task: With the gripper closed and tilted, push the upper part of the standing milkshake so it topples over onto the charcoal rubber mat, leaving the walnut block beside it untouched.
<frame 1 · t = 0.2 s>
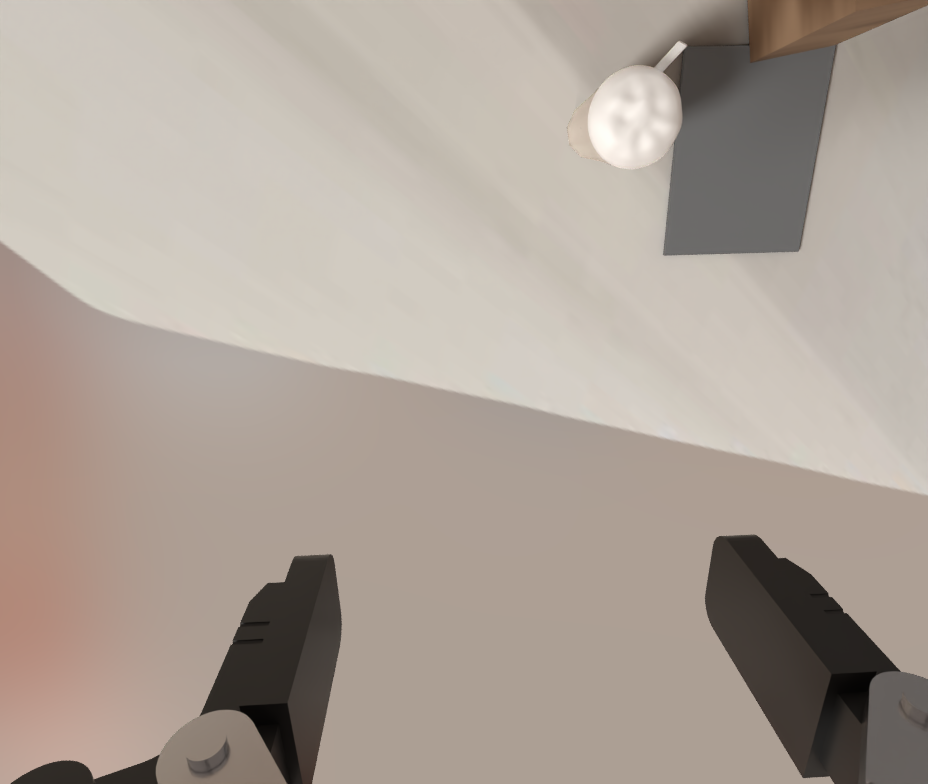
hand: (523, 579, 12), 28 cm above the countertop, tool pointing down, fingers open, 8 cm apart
milkshake: (594, 124, 35), on the countertop
mat: (743, 155, 36), on the countertop
walnut block: (790, 6, 33), on the countertop, touching mat
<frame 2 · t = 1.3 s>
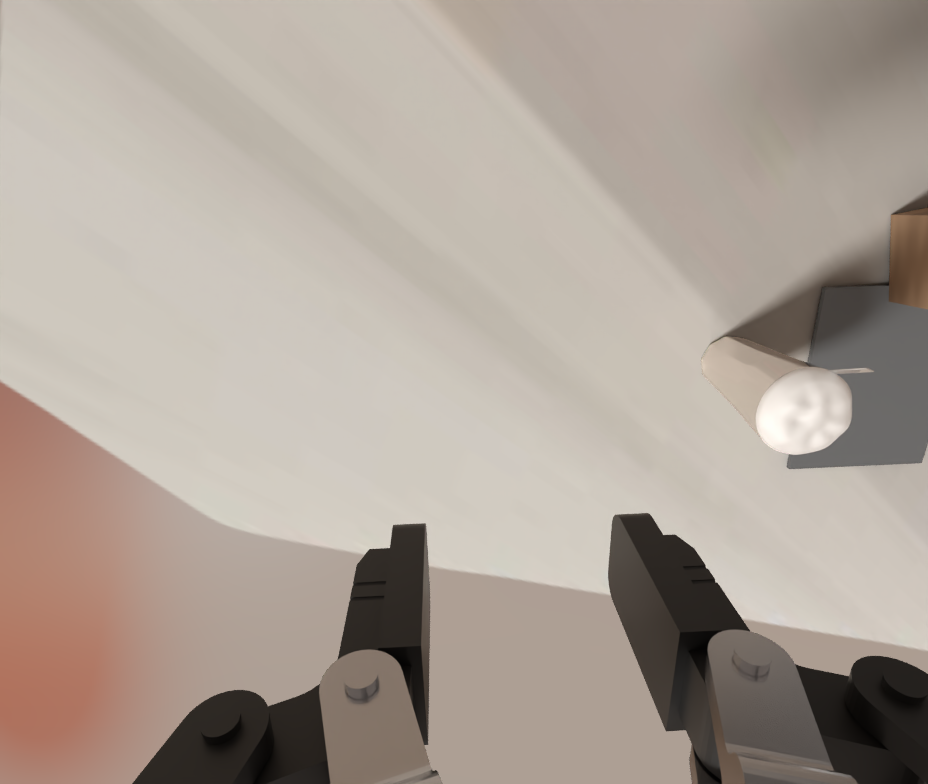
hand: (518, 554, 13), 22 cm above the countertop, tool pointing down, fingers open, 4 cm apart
milkshake: (728, 354, 35), on the countertop
mat: (873, 379, 36), on the countertop
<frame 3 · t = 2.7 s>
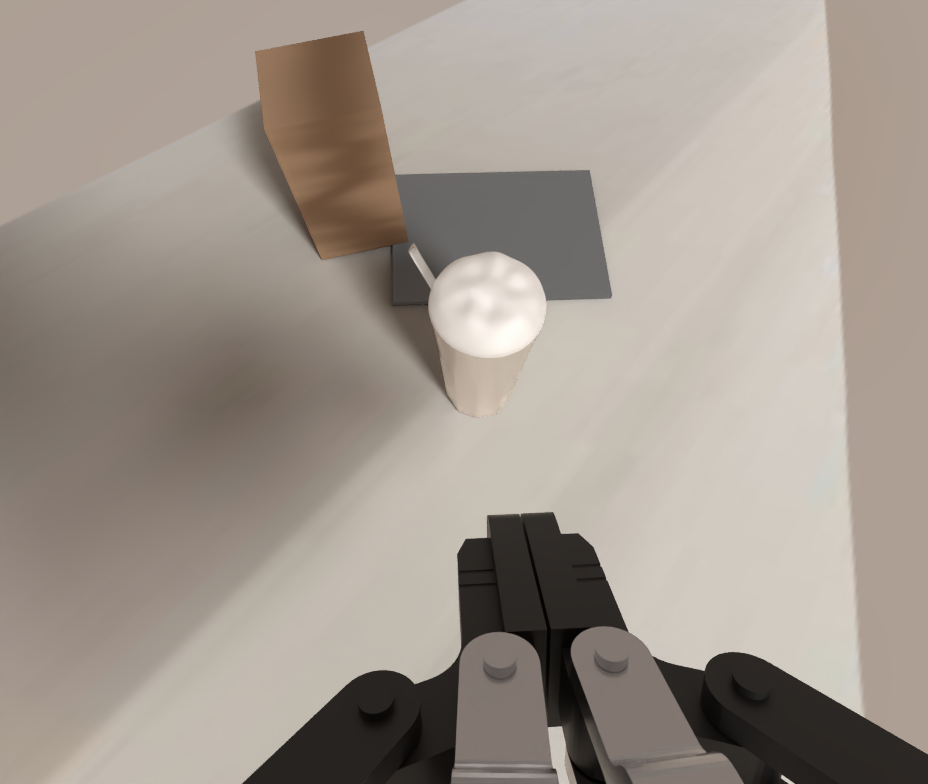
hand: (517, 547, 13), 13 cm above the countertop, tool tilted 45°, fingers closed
milkshake: (471, 387, 30), on the countertop
mat: (496, 235, 33), on the countertop
walnut block: (359, 216, 33), on the countertop, touching mat
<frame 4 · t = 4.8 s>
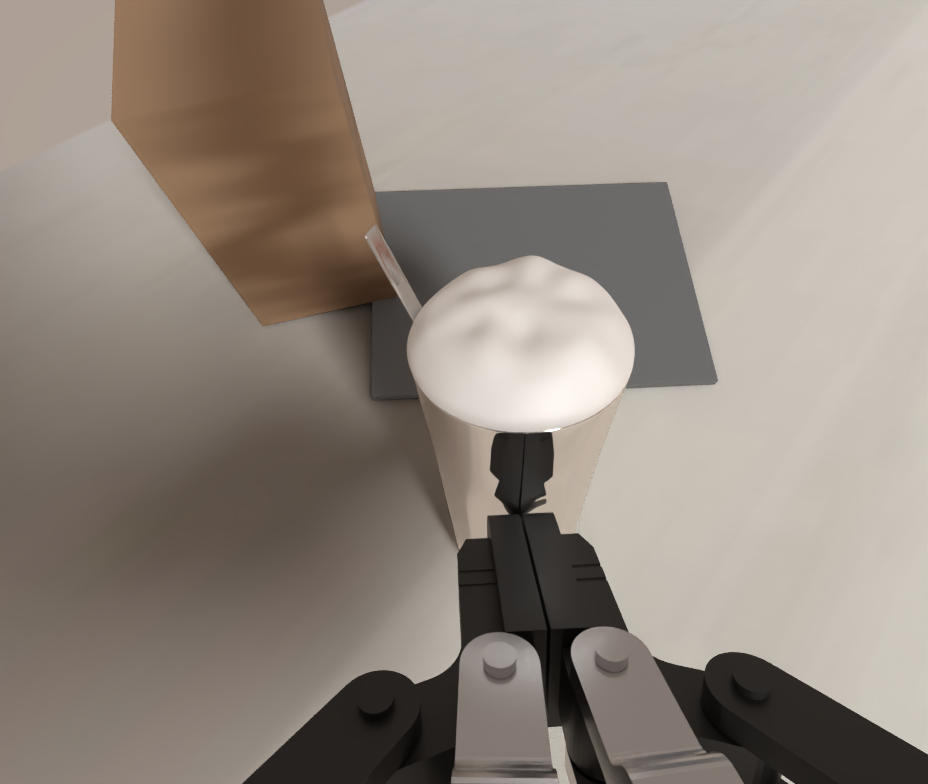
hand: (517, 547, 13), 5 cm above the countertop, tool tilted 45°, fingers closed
milkshake: (499, 539, 18), on the countertop
mat: (531, 284, 22), on the countertop
walnut block: (322, 256, 22), on the countertop, touching mat
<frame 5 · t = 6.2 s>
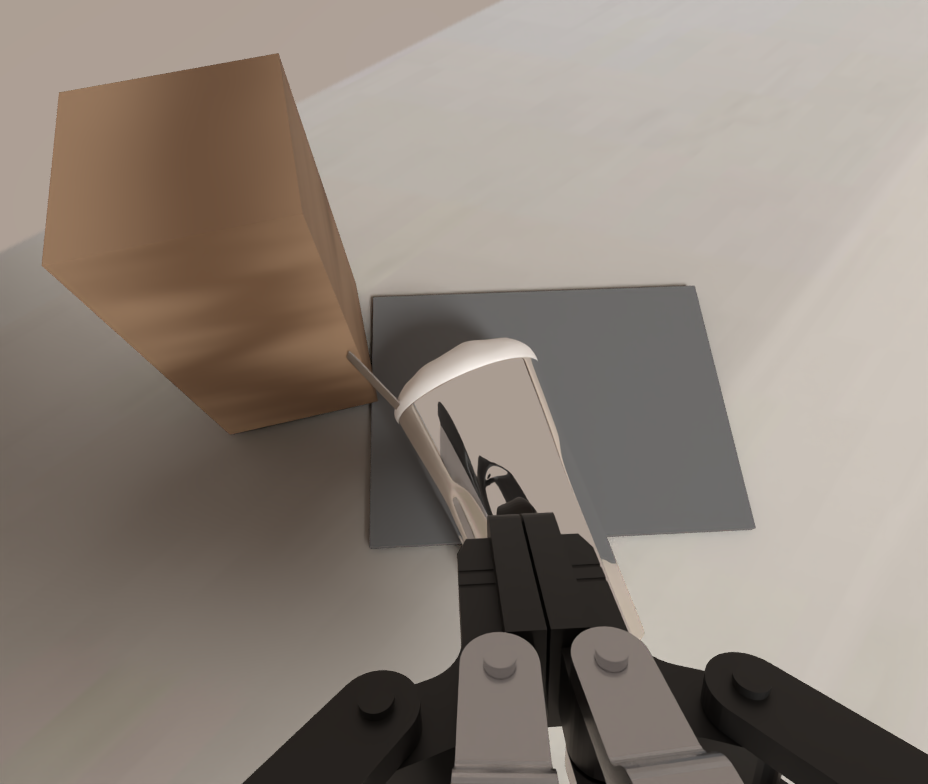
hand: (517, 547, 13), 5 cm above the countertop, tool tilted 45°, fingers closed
milkshake: (579, 674, 15), point 2 cm above the countertop, touching mat, walnut block
mat: (547, 406, 20), on the countertop
walnut block: (296, 354, 20), on the countertop, touching mat, milkshake
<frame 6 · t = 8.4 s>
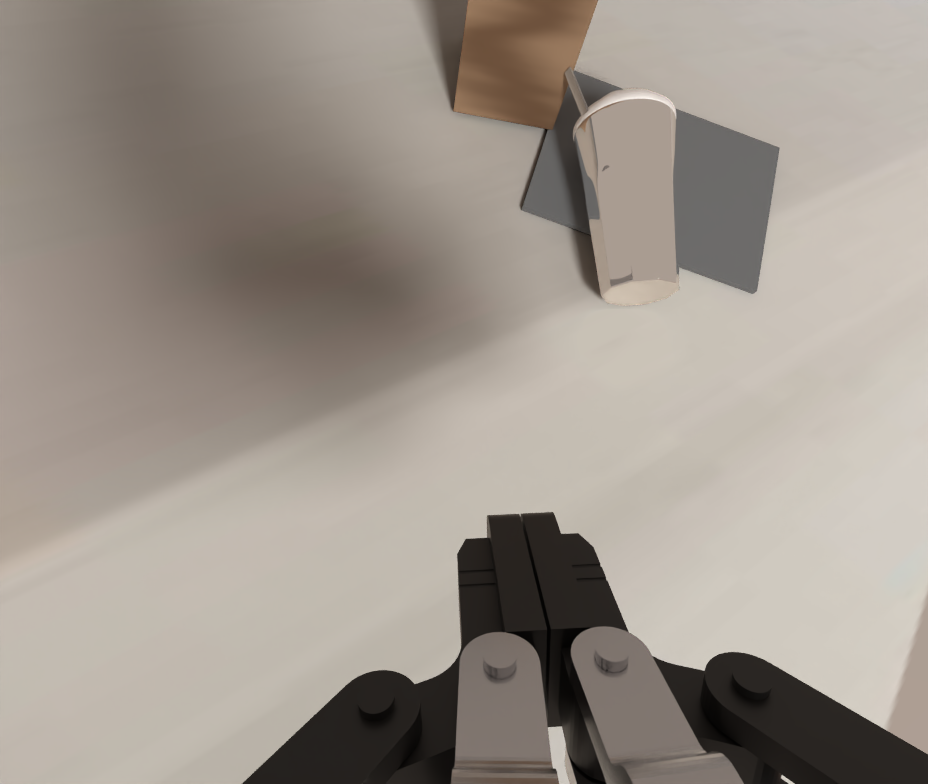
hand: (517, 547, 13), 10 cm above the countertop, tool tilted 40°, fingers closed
milkshake: (633, 297, 25), point 2 cm above the countertop, touching mat, walnut block
mat: (656, 179, 29), on the countertop
walnut block: (507, 82, 29), on the countertop, touching mat, milkshake
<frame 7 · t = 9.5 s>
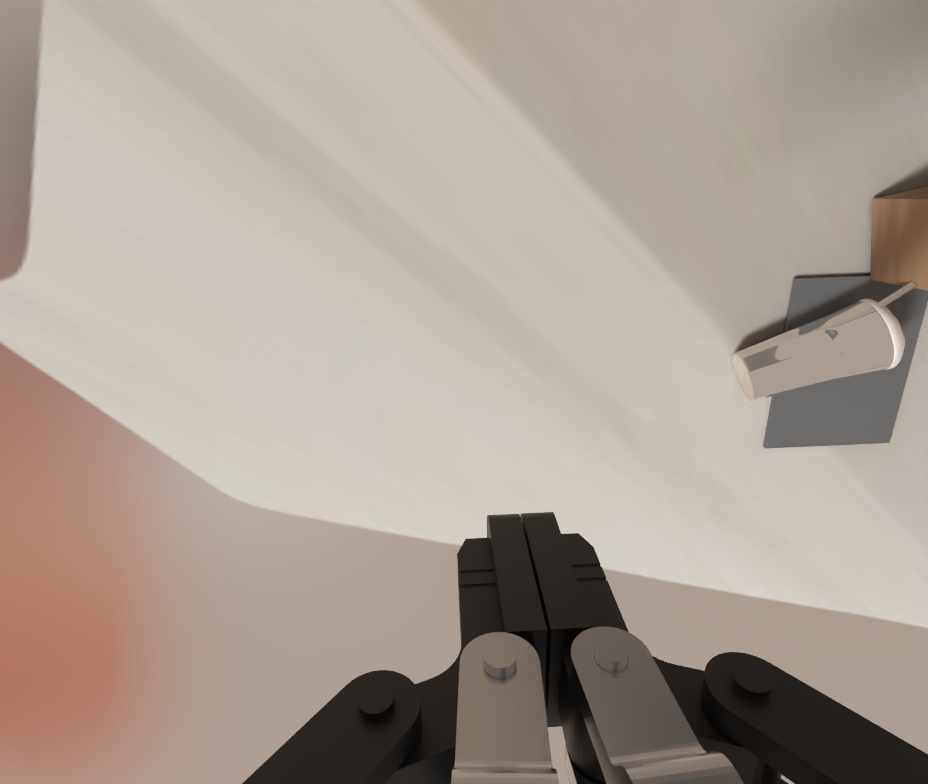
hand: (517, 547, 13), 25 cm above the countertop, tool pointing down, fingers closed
milkshake: (738, 373, 37), point 2 cm above the countertop, touching mat, walnut block
mat: (842, 364, 39), on the countertop
walnut block: (910, 231, 36), on the countertop, touching mat, milkshake
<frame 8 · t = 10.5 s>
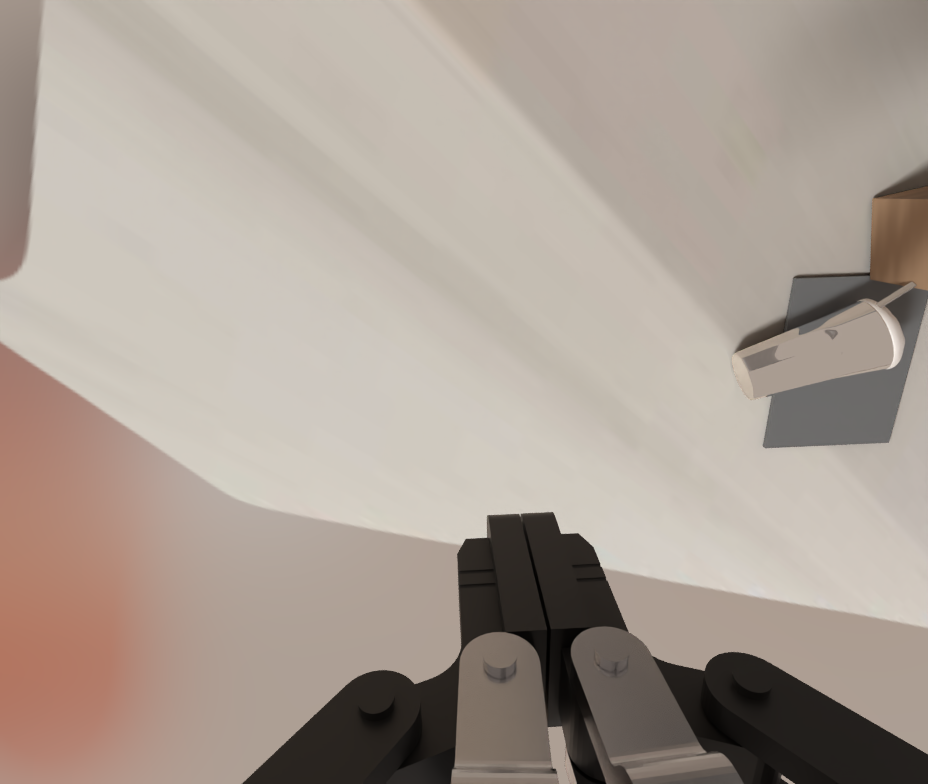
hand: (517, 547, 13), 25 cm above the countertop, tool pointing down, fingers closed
milkshake: (738, 373, 37), point 2 cm above the countertop, touching mat, walnut block
mat: (842, 364, 39), on the countertop
walnut block: (910, 231, 36), on the countertop, touching mat, milkshake
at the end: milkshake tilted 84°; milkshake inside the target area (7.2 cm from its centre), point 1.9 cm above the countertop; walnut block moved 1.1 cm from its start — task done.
